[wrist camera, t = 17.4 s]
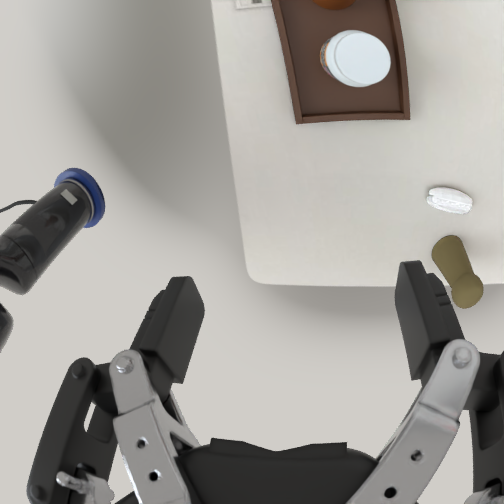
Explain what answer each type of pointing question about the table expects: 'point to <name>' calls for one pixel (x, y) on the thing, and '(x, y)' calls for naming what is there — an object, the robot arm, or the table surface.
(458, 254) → the cork
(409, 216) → the table surface
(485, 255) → the table surface
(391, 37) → the tray
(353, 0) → the amber bottle
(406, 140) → the table surface
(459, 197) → the sub sandwich
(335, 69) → the pill bottle
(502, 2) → the table surface
